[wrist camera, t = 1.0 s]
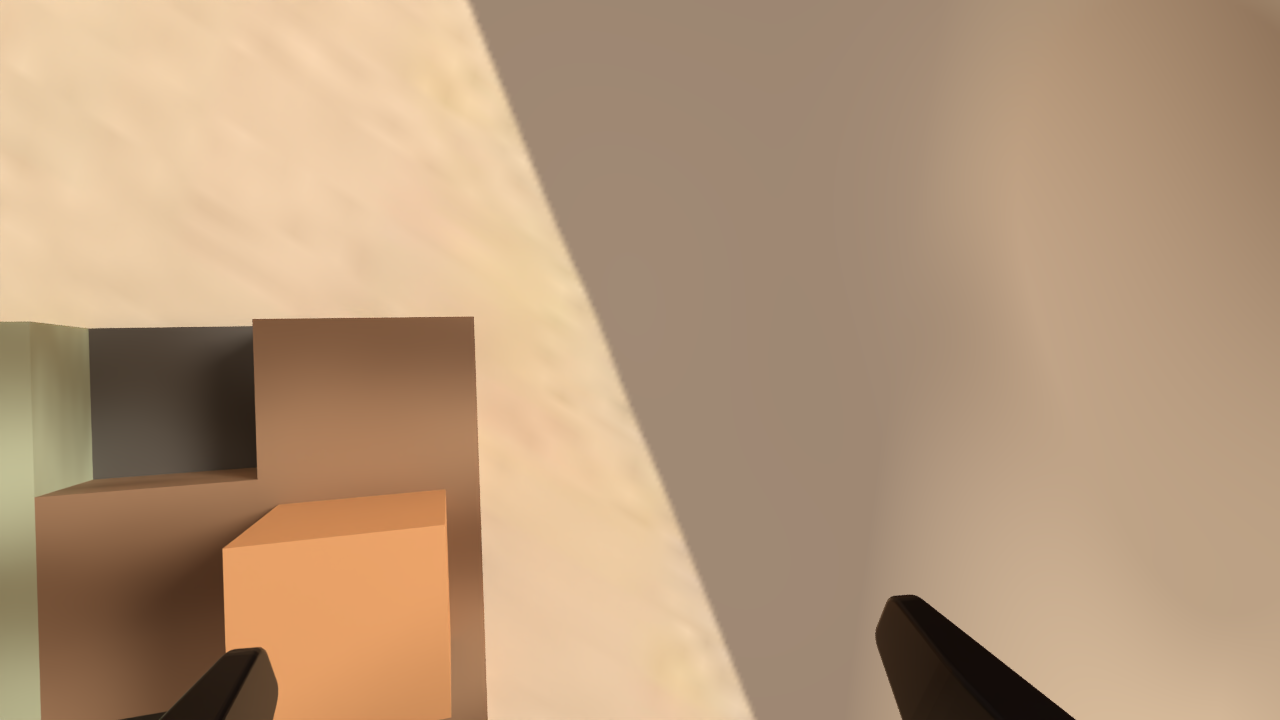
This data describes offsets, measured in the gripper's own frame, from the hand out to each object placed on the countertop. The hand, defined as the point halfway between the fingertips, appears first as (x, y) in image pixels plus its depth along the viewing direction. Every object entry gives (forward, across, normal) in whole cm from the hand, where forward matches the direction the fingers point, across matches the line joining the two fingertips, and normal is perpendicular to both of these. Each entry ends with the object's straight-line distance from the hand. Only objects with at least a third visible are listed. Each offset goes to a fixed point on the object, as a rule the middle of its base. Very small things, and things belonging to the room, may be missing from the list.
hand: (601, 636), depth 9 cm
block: (+8, +6, +7) cm, 12 cm away
